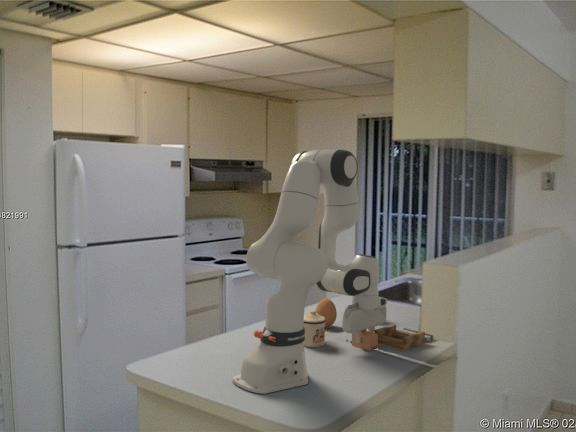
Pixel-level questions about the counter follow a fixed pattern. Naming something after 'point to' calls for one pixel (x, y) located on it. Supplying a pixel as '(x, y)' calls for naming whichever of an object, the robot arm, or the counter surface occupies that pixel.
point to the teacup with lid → (314, 329)
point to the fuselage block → (366, 340)
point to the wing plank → (415, 333)
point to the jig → (400, 338)
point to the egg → (327, 311)
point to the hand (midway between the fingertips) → (363, 341)
